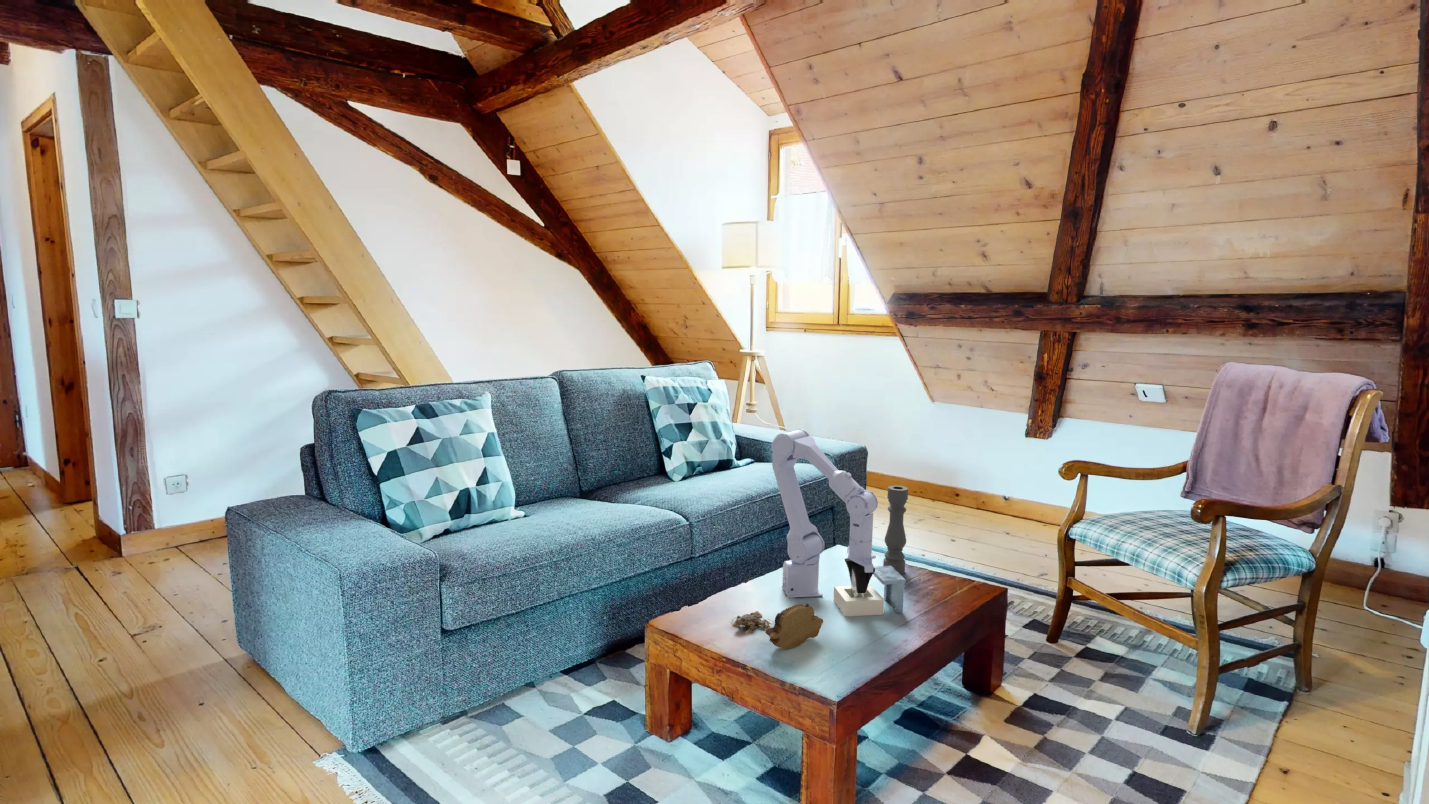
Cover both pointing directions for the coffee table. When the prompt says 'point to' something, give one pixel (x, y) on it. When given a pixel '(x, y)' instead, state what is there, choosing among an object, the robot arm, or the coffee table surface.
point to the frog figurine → (752, 621)
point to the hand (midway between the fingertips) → (858, 589)
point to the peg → (853, 588)
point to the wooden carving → (794, 626)
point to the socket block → (858, 602)
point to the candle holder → (896, 528)
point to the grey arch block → (891, 585)
